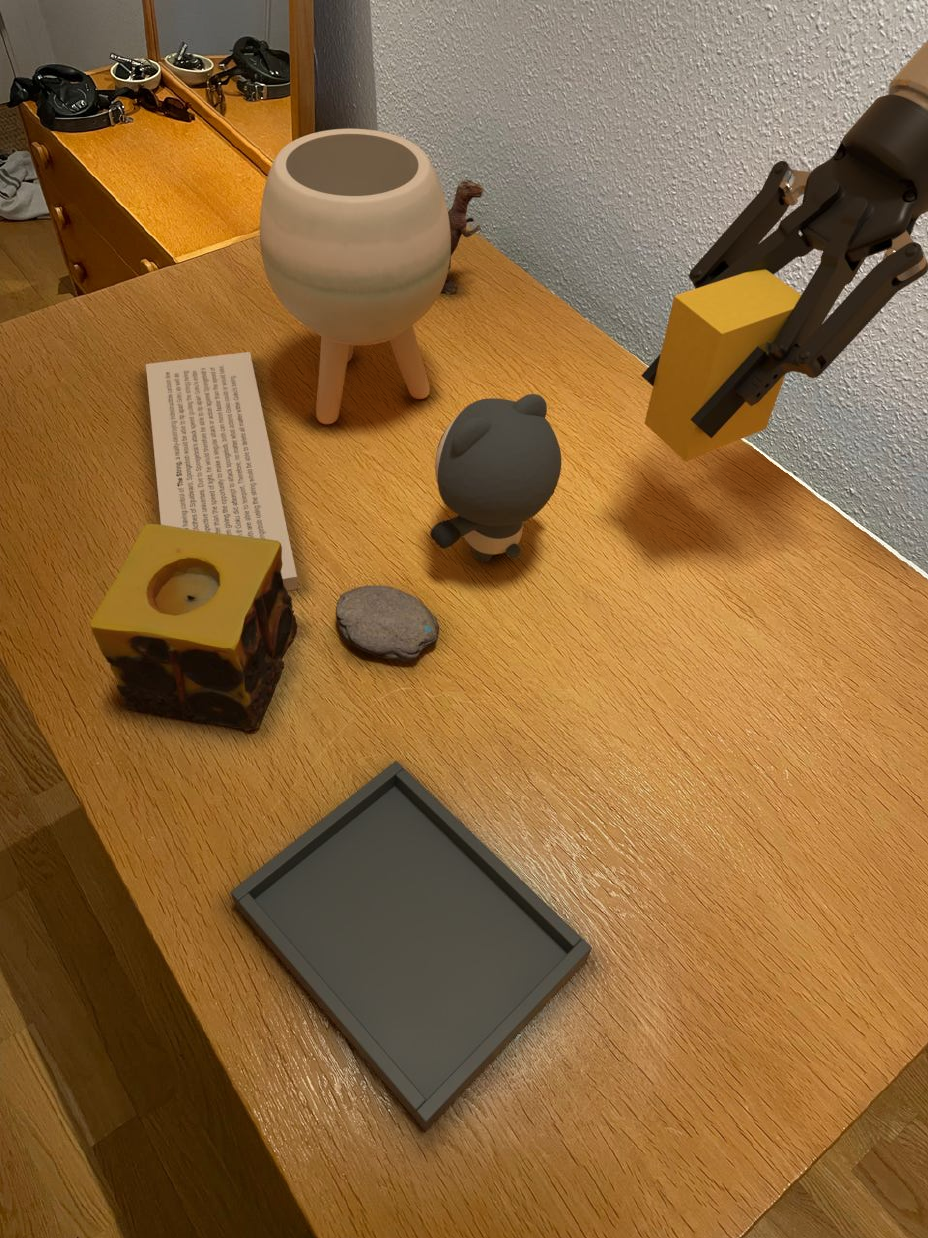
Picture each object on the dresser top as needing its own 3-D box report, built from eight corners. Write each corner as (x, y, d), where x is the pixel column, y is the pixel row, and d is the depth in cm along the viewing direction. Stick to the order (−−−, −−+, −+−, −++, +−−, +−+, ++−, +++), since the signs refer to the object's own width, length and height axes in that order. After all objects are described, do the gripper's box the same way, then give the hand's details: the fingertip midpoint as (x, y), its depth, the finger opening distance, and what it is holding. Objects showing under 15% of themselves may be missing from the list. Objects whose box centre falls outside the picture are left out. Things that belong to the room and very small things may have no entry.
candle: (299, 627, 74) (286, 538, 66) (259, 736, 67) (239, 651, 60) (174, 606, 74) (146, 516, 67) (123, 711, 68) (85, 625, 60)
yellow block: (766, 429, 73) (812, 301, 64) (685, 462, 70) (722, 333, 61) (723, 393, 75) (762, 266, 67) (644, 423, 73) (674, 295, 64)
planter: (291, 455, 86) (260, 221, 69) (271, 351, 96) (240, 123, 79) (462, 434, 89) (475, 204, 72) (426, 335, 99) (430, 112, 81)
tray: (587, 961, 58) (592, 947, 56) (425, 1132, 52) (425, 1123, 50) (396, 776, 66) (396, 759, 64) (235, 906, 59) (229, 891, 58)
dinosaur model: (487, 182, 96) (343, 206, 93) (488, 289, 104) (356, 313, 102) (475, 166, 98) (334, 189, 96) (477, 271, 107) (348, 295, 104)
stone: (380, 579, 77) (379, 560, 76) (454, 634, 74) (455, 615, 72) (317, 625, 74) (315, 606, 72) (392, 685, 70) (392, 667, 69)
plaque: (296, 576, 75) (168, 597, 73) (298, 588, 76) (171, 610, 74) (249, 351, 93) (145, 363, 91) (251, 364, 94) (149, 376, 92)
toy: (503, 487, 85) (518, 344, 73) (578, 558, 80) (606, 416, 68) (395, 538, 80) (393, 394, 68) (467, 617, 75) (477, 476, 63)
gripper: (1045, 221, 60) (776, 496, 67) (841, 110, 69) (624, 361, 77) (1033, 154, 54) (739, 463, 61) (812, 42, 63) (580, 321, 71)
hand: (676, 406), depth 69 cm, fingers closed on yellow block, 5 cm apart
